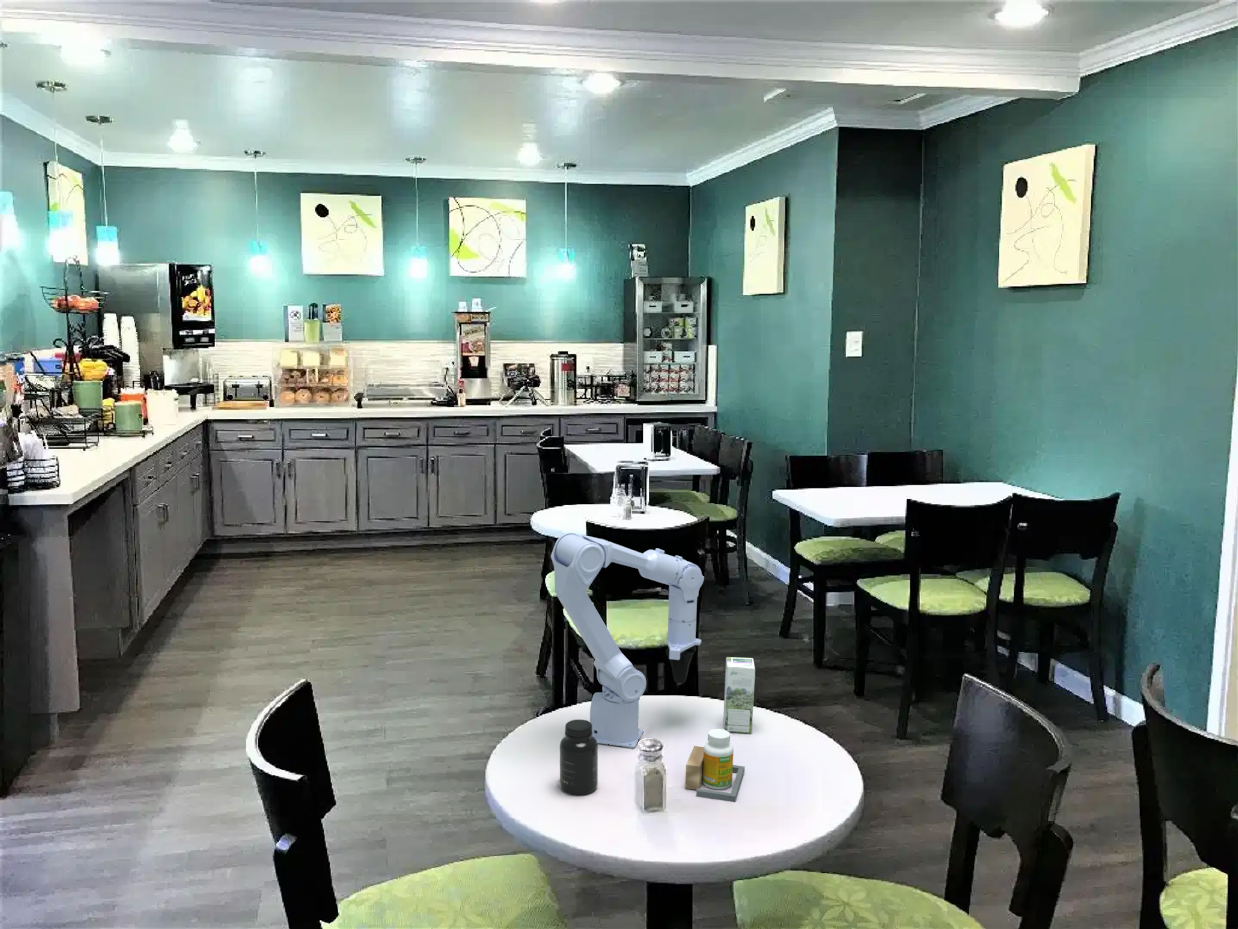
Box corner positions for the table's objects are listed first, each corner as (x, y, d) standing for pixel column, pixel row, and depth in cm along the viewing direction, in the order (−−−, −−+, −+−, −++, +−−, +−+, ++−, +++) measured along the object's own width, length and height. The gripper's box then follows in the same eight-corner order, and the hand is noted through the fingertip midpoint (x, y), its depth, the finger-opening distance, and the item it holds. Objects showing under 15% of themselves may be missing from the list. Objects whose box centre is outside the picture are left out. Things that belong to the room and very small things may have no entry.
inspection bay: (696, 796, 179) (696, 791, 179) (707, 766, 190) (707, 761, 190) (735, 801, 177) (735, 796, 177) (744, 771, 189) (744, 766, 189)
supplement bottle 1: (579, 774, 186) (580, 713, 184) (605, 788, 181) (606, 725, 179) (551, 786, 181) (552, 724, 179) (576, 800, 176) (578, 736, 175)
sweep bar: (685, 788, 181) (686, 764, 181) (693, 768, 189) (694, 746, 188) (698, 790, 181) (699, 766, 180) (706, 770, 188) (707, 747, 188)
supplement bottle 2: (718, 793, 180) (720, 742, 179) (696, 782, 184) (698, 732, 182) (738, 784, 184) (740, 734, 182) (715, 773, 188) (717, 724, 186)
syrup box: (750, 722, 211) (753, 656, 208) (752, 734, 205) (755, 667, 202) (723, 721, 211) (725, 655, 209) (724, 733, 205) (726, 665, 203)
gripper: (695, 631, 197) (692, 696, 199) (707, 609, 211) (705, 671, 213) (659, 627, 199) (658, 692, 201) (674, 606, 213) (672, 667, 215)
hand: (680, 681), depth 207 cm, fingers closed
